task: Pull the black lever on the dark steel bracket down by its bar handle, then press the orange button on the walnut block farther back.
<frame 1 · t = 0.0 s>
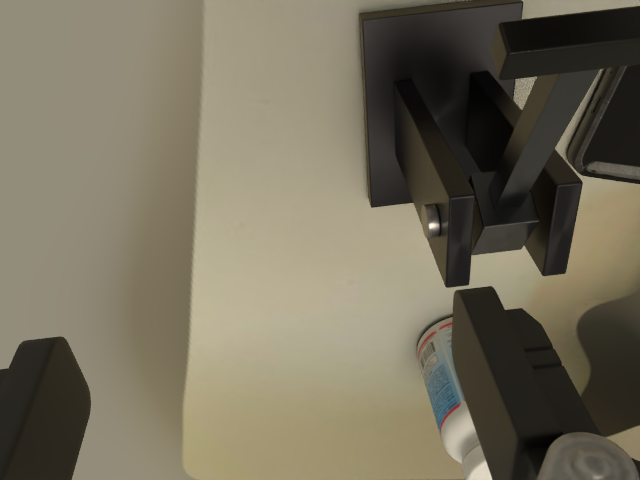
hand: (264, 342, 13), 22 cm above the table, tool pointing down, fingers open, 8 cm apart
bracket: (435, 105, 34), on the table
pill bottle: (455, 340, 45), on the table
lever: (526, 153, 21), point 13 cm above the table, hinge at 30.0°
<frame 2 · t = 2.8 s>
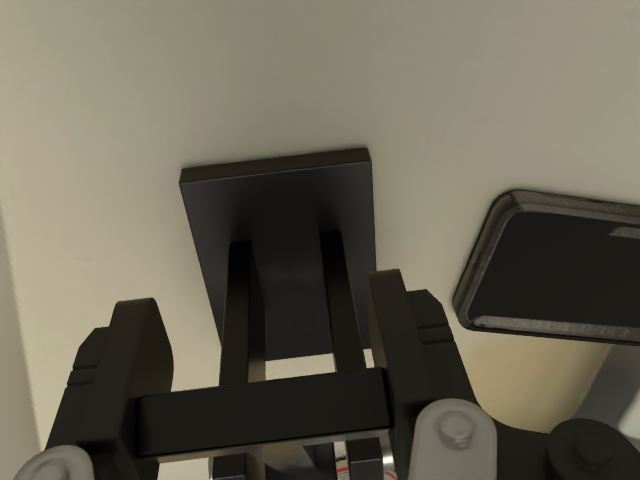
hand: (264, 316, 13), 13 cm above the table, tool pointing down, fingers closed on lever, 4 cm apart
bracket: (289, 259, 29), on the table
phone: (607, 268, 31), on the table
pill bottle: (353, 479, 41), on the table
lever: (290, 445, 16), point 13 cm above the table, hinge at 30.0°, touching gripper
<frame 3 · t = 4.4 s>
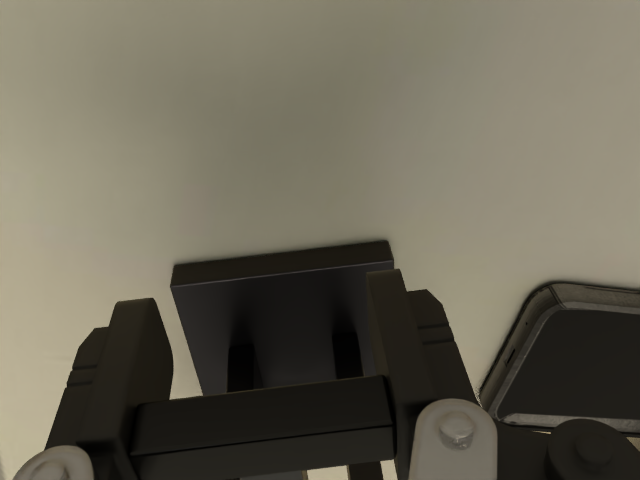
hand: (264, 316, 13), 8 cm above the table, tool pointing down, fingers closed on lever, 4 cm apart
bracket: (297, 355, 26), on the table
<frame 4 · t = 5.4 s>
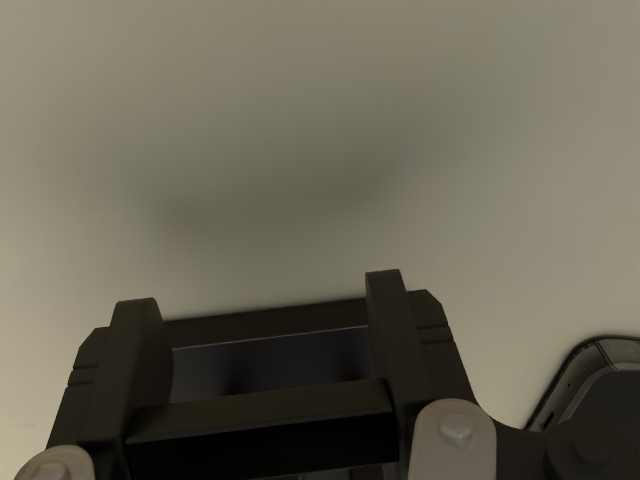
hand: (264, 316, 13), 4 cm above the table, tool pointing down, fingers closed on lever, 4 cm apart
bracket: (300, 419, 22), on the table
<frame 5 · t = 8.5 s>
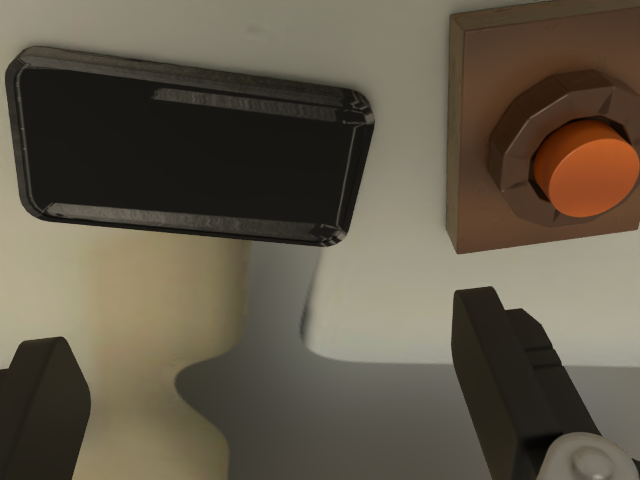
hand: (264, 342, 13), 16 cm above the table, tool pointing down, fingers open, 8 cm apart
phone: (197, 148, 28), on the table
button block: (543, 121, 28), on the table
button: (584, 169, 25), point 4 cm above the table, slide at 0.1 cm
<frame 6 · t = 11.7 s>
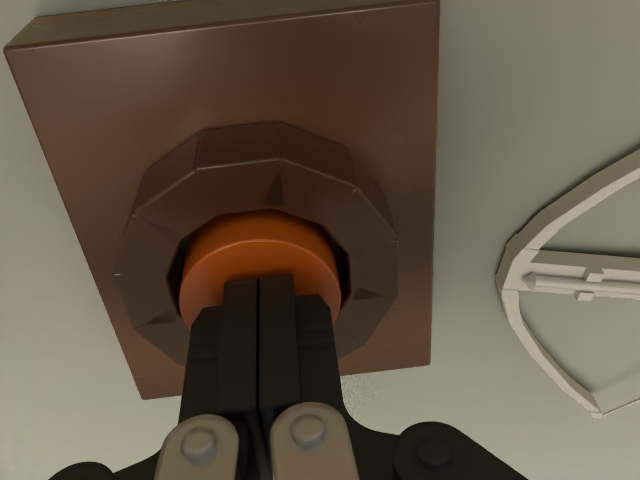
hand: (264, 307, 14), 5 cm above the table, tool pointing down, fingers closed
button block: (260, 195, 17), on the table
button: (261, 280, 14), point 4 cm above the table, slide at -0.6 cm, touching gripper
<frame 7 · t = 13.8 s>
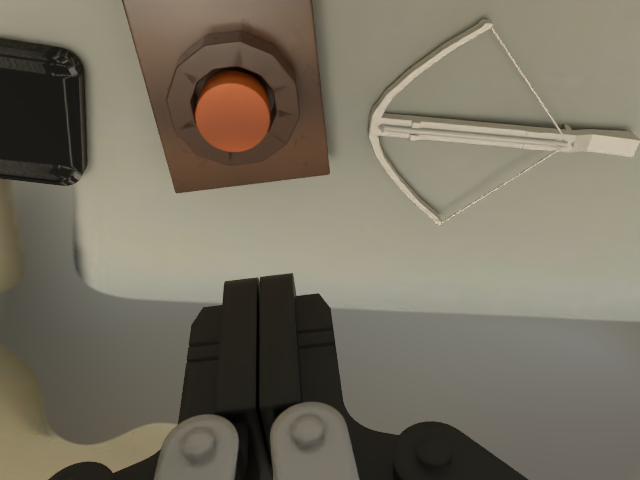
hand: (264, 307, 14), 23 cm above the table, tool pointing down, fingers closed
button block: (237, 79, 34), on the table
crossbow: (498, 127, 37), on the table
button: (233, 111, 30), point 4 cm above the table, slide at 0.1 cm
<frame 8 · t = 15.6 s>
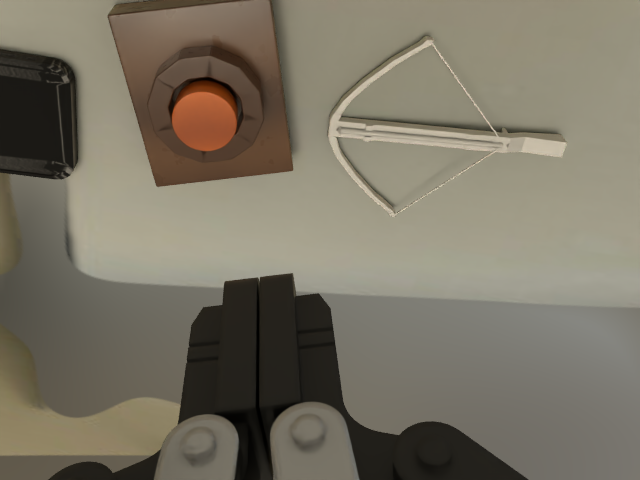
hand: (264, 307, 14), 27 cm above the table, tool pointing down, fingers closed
button block: (210, 86, 38), on the table
crossbow: (443, 130, 42), on the table
button: (205, 116, 35), point 4 cm above the table, slide at 0.1 cm
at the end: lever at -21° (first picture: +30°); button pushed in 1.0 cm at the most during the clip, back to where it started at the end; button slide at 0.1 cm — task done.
